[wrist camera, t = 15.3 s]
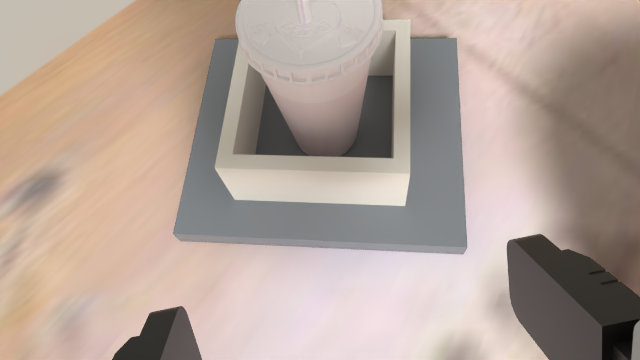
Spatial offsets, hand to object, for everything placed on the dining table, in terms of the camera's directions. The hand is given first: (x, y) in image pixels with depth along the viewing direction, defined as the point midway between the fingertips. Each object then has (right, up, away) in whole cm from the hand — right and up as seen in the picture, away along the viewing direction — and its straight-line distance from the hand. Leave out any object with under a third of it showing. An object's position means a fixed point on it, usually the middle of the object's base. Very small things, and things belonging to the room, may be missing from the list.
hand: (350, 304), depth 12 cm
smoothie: (0, +6, +17) cm, 18 cm away
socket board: (0, +6, +18) cm, 19 cm away
